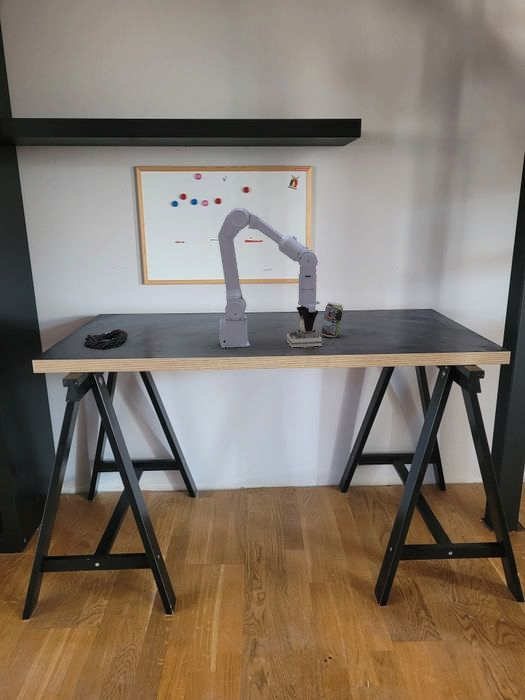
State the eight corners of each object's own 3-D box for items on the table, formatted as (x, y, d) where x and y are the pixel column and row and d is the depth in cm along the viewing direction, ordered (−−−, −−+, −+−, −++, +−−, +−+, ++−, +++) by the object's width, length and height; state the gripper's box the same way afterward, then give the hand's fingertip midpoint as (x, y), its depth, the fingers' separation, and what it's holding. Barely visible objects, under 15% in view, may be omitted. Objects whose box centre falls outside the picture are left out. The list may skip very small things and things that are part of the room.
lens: (301, 336, 168) (302, 318, 166) (298, 333, 172) (298, 315, 170) (315, 335, 168) (315, 317, 167) (311, 332, 173) (311, 314, 171)
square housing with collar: (291, 348, 166) (291, 334, 165) (286, 342, 174) (286, 329, 173) (321, 346, 168) (321, 333, 167) (315, 340, 175) (315, 327, 174)
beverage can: (318, 335, 183) (318, 302, 180) (336, 333, 185) (337, 300, 182) (326, 339, 177) (327, 305, 174) (345, 337, 180) (346, 303, 176)
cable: (123, 350, 168) (122, 337, 167) (79, 351, 167) (78, 338, 166) (130, 337, 185) (129, 325, 184) (90, 339, 183) (88, 327, 182)
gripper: (325, 291, 160) (324, 333, 163) (314, 285, 174) (313, 324, 177) (303, 292, 159) (302, 334, 162) (293, 285, 173) (293, 325, 176)
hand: (307, 329), depth 170 cm, fingers closed on lens, 4 cm apart
